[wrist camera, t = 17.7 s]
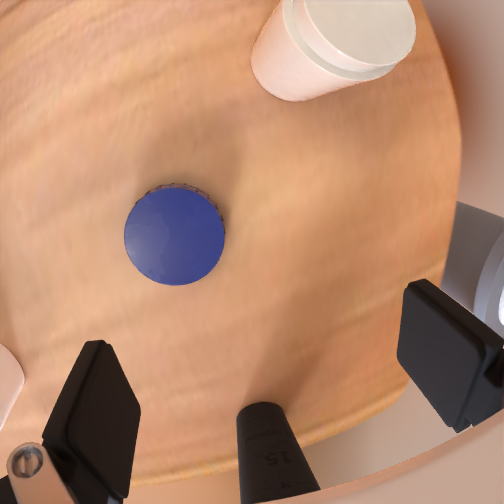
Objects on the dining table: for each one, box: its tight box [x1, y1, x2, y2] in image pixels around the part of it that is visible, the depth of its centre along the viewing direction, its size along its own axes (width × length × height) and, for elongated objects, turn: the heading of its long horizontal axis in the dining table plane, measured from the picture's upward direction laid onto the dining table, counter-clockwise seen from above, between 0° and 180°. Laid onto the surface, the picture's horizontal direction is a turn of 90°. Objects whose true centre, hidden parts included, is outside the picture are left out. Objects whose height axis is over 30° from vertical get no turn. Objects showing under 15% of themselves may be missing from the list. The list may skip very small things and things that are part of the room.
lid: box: [124, 183, 225, 285], centre depth 21 cm, size 7×7×2 cm
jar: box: [251, 0, 416, 102], centre depth 14 cm, size 6×6×11 cm
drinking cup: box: [236, 402, 321, 504], centre depth 20 cm, size 8×8×20 cm
